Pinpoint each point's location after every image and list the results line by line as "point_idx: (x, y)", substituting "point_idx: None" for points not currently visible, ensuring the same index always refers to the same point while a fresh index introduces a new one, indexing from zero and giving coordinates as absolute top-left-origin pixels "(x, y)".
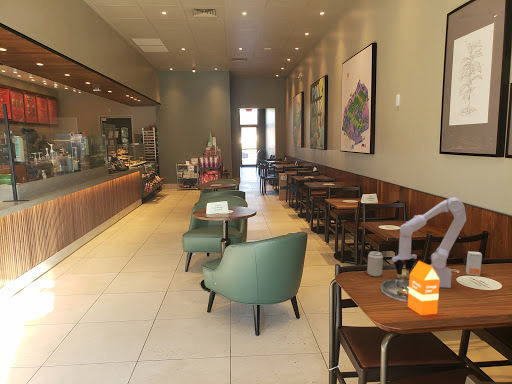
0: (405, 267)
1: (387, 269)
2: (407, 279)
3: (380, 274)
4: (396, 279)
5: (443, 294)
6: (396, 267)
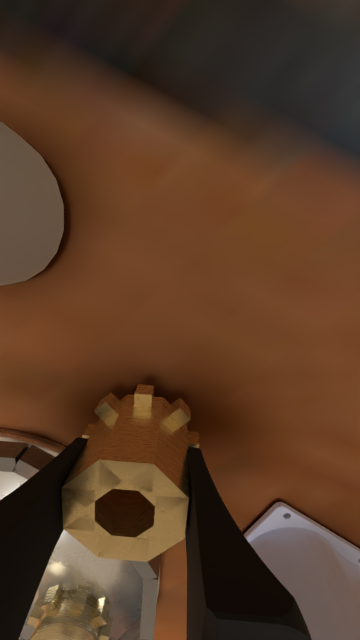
0: (174, 500)
1: (246, 146)
2: None
3: (7, 284)
4: (18, 472)
5: (177, 636)
6: (19, 496)
